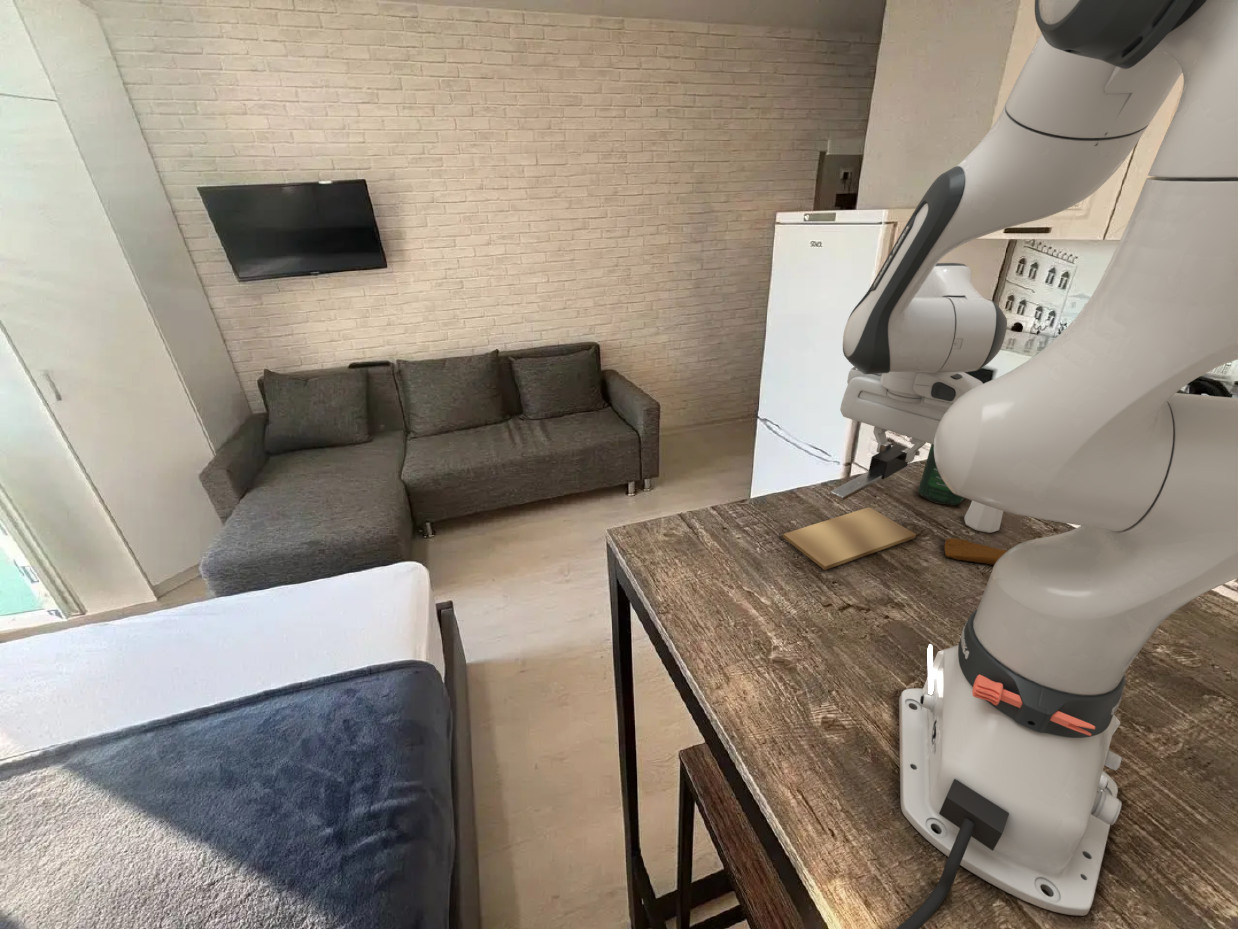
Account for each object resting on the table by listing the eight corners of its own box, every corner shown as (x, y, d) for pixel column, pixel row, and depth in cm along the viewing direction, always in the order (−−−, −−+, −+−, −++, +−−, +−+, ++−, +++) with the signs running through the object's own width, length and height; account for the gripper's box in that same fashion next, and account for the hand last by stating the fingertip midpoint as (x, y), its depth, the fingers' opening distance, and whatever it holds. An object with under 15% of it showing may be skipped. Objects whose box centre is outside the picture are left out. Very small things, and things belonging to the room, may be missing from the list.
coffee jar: (958, 511, 94) (988, 418, 86) (912, 497, 99) (936, 407, 91) (971, 491, 100) (1000, 402, 92) (927, 479, 105) (951, 393, 97)
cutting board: (824, 570, 80) (825, 566, 80) (782, 537, 89) (783, 533, 88) (915, 538, 87) (916, 534, 87) (868, 510, 96) (869, 506, 95)
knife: (843, 502, 76) (846, 483, 74) (827, 495, 78) (831, 477, 76) (907, 466, 85) (911, 448, 84) (892, 460, 87) (896, 443, 86)
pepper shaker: (958, 524, 90) (976, 469, 85) (968, 513, 94) (986, 459, 89) (994, 537, 87) (1014, 480, 82) (1003, 524, 90) (1023, 469, 85)
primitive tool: (944, 557, 82) (950, 539, 81) (944, 539, 87) (949, 522, 85) (1097, 593, 74) (1107, 574, 72) (1088, 572, 78) (1097, 553, 76)
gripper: (840, 365, 84) (827, 441, 90) (976, 396, 69) (950, 485, 75) (861, 358, 87) (847, 432, 93) (996, 386, 72) (969, 472, 78)
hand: (894, 456), depth 84 cm, fingers closed on knife, 2 cm apart
